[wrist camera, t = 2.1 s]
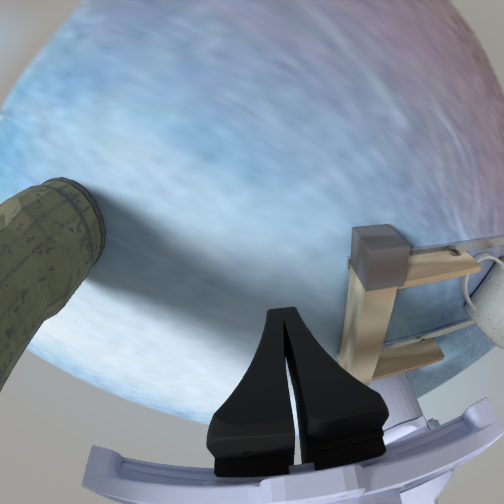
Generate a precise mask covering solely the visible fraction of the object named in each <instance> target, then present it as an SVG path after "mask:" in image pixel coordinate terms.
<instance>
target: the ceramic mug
mask: <svg viewBox="0 0 504 504" xmlns="http://www.w3.org/2000/svg"><path fill="white" fill-rule="evenodd" d="M473 258H474V259H475V260H476V261H477V262H478V263H479V264H480V262H482V261H485V260H486V259H489V260H494V261H495V262H496V264H495V265H494V266H493V267H492V269H491V270H490V272H489V273H488V275H487V276H486V278H485V280H484V281H483V282H482V283H481V285H480V286H479V287H478V289H477V290H476V291H475V293H474V294H473V295H472V296H471V298H470V297H469V295H468V280H469V275H470V274H468V275H464V276H461V282H460V286H461V291H462V294H463V296H464V298H465V300H466V302H467V303H466V304H465V306H464V309H465V311H466V313H467V314H468V315H469V317H470V318H471V319H472V321H473V322H474V323H475V324H476V325H477V327H478V328H479V329H480V330H481V331H482V332H483V333H484V334H485V335H486V336H487V337H488V338H489V339H490V340H491V341H492V342H493V343H494V344H495V345H496V346H498V347H499V348H504V257H501V258H500V259H498V258H497V257H495V256H493V255H491V254H490V253H480V254H478V255H476V256H474V257H473Z"/></svg>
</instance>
